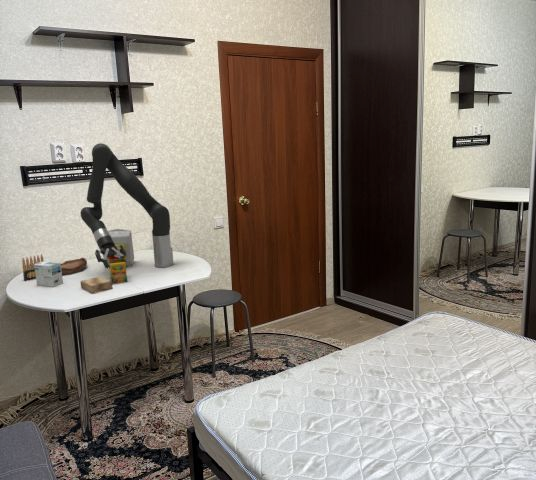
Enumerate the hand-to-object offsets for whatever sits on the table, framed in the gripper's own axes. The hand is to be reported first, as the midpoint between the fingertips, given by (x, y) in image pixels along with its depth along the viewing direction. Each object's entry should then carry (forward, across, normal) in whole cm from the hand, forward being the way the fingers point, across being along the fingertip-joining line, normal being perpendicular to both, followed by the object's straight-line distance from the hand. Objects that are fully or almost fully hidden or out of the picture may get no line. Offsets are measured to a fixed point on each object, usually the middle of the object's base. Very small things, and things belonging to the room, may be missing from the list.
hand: (116, 265), depth 243 cm
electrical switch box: (-13, +14, +25) cm, 31 cm away
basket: (-23, -9, +35) cm, 43 cm away
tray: (+7, -12, +4) cm, 14 cm away
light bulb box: (-9, -25, +21) cm, 34 cm away
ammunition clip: (-21, -26, +33) cm, 47 cm away
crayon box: (+7, 0, +5) cm, 8 cm away
